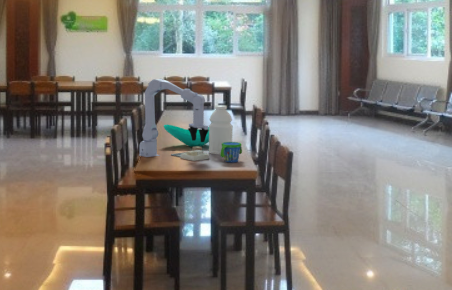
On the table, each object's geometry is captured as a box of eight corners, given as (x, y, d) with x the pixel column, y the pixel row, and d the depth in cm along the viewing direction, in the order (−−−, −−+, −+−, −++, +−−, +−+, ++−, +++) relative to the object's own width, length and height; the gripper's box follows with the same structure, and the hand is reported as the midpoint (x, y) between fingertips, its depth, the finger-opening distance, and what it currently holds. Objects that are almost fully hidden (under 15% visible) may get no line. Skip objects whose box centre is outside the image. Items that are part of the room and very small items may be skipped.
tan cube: (196, 154, 375) (196, 147, 375) (192, 153, 378) (192, 146, 378) (201, 153, 378) (202, 147, 377) (197, 153, 381) (197, 146, 380)
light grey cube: (197, 158, 361) (197, 151, 361) (193, 157, 364) (193, 150, 364) (203, 158, 364) (203, 150, 363) (198, 157, 367) (198, 150, 366)
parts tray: (181, 158, 365) (181, 156, 364) (170, 156, 372) (170, 154, 372) (206, 155, 377) (206, 153, 376) (195, 153, 384) (195, 151, 384)
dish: (193, 161, 355) (193, 156, 354) (180, 159, 363) (180, 153, 363) (209, 159, 362) (209, 154, 362) (196, 156, 370) (196, 151, 370)
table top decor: (164, 149, 395) (164, 128, 393) (162, 143, 422) (162, 122, 420) (229, 149, 400) (229, 127, 398) (223, 142, 427) (224, 122, 425)
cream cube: (191, 159, 358) (191, 152, 358) (186, 158, 361) (186, 151, 361) (196, 158, 361) (196, 151, 360) (192, 157, 364) (192, 150, 363)
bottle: (233, 155, 378) (233, 107, 374) (209, 155, 377) (209, 106, 373) (231, 151, 392) (231, 104, 388) (208, 151, 391) (208, 104, 387)
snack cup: (227, 164, 347) (227, 145, 346) (214, 161, 355) (214, 143, 353) (248, 161, 358) (248, 143, 356) (234, 158, 366) (235, 140, 364)
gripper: (212, 117, 358) (212, 142, 360) (195, 115, 369) (195, 139, 371) (202, 118, 353) (202, 143, 355) (185, 116, 364) (185, 140, 366)
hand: (198, 141), depth 363 cm, fingers open, 7 cm apart
